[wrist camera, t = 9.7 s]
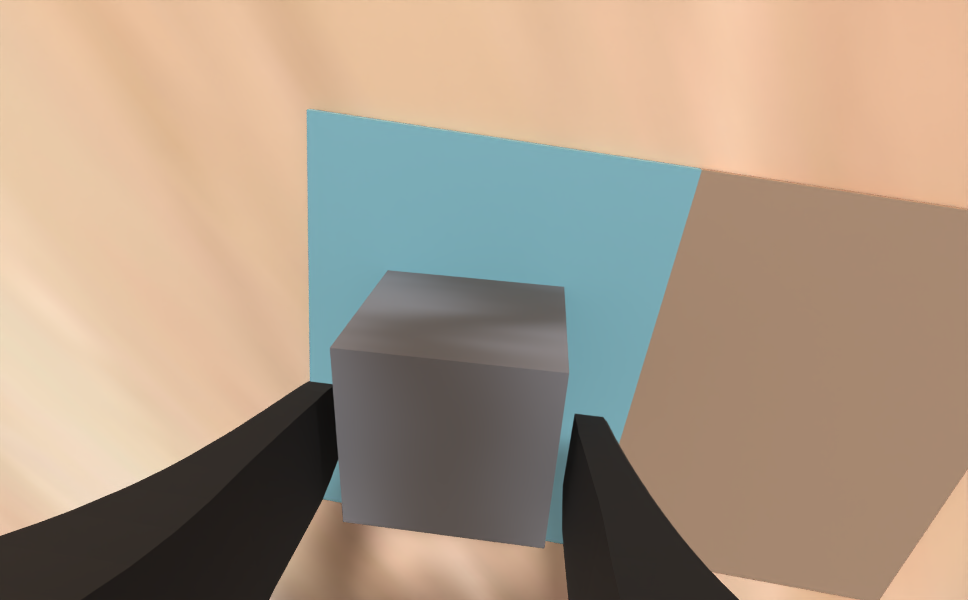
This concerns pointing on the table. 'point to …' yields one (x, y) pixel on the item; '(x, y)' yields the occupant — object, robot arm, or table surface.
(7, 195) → the table surface
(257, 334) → the table surface
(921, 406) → the board
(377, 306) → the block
